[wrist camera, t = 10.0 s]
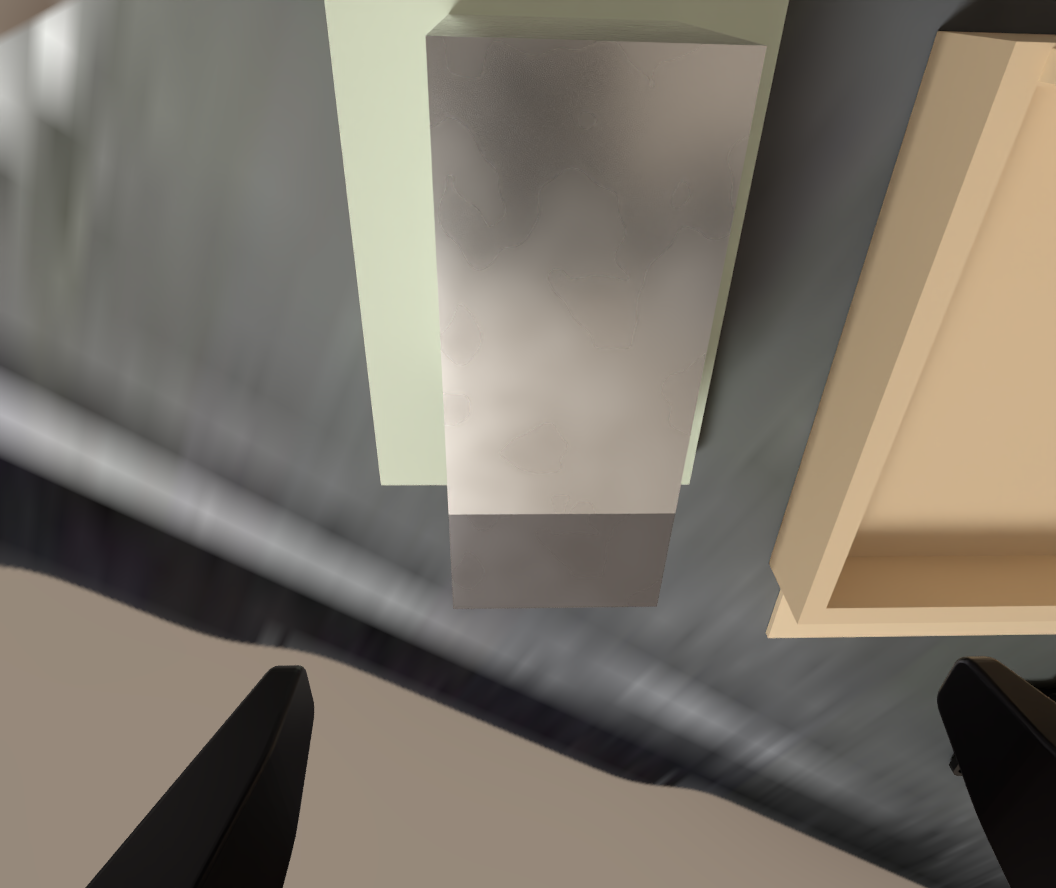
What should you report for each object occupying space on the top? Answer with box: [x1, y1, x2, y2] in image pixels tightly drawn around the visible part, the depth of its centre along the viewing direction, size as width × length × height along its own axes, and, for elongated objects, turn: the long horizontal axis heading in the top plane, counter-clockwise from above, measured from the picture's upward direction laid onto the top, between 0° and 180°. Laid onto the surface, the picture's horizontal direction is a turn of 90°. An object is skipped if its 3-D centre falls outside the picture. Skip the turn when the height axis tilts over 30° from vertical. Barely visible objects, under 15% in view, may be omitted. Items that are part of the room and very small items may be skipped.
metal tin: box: [426, 14, 767, 609], centre depth 16 cm, size 12×5×6 cm, turn 178°
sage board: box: [324, 0, 789, 485], centre depth 19 cm, size 14×10×1 cm
